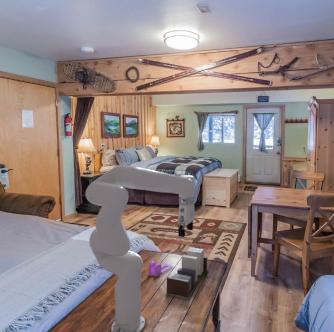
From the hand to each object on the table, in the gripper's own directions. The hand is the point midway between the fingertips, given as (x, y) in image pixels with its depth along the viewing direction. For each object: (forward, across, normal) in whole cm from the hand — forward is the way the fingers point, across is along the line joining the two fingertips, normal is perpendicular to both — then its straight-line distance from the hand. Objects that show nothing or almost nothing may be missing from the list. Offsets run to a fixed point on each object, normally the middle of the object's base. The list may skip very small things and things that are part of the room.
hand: (185, 233), depth 137 cm
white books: (+26, +10, -1) cm, 28 cm away
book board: (+27, +1, -2) cm, 27 cm away
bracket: (+28, +7, +17) cm, 33 cm away
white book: (+26, +2, -2) cm, 26 cm away
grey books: (+26, -6, -2) cm, 27 cm away
